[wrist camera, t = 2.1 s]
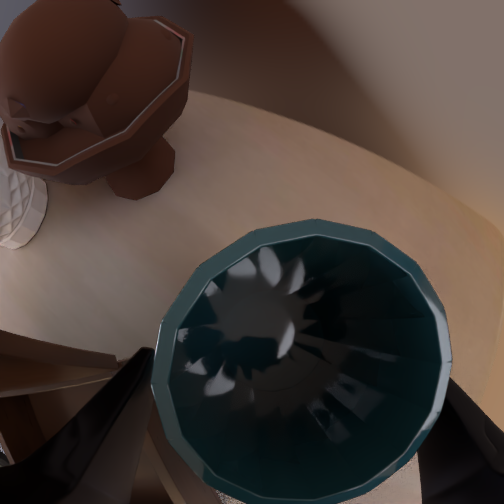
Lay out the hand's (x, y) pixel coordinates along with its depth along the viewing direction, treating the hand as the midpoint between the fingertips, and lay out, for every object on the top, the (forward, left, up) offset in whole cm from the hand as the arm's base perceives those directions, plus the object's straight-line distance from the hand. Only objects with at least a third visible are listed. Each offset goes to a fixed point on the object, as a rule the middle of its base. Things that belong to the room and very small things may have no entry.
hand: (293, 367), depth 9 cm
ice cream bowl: (+15, +1, -9) cm, 17 cm away
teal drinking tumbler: (0, 0, -8) cm, 8 cm away
